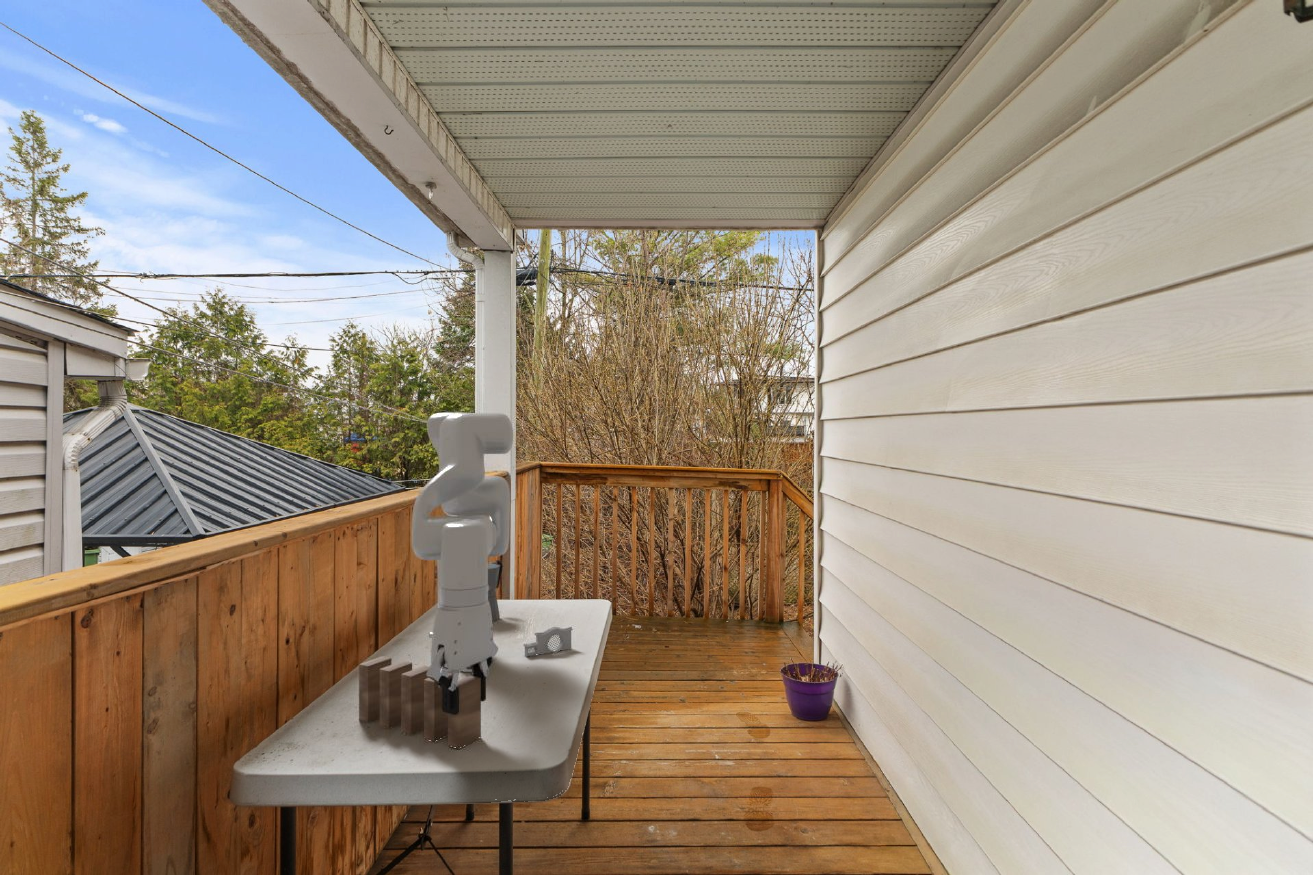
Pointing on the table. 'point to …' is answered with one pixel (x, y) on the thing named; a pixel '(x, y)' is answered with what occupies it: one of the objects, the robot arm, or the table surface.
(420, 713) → the domino
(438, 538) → the robot arm
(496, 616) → the coffeepot
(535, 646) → the garden wall model
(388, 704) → the domino
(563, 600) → the table surface
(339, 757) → the table surface
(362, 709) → the domino
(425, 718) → the domino
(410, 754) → the table surface
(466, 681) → the domino
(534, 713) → the table surface
